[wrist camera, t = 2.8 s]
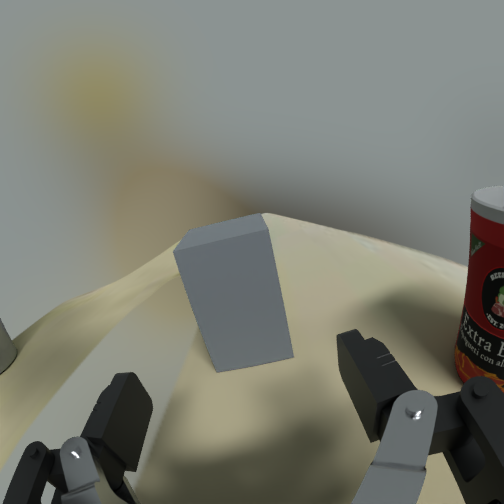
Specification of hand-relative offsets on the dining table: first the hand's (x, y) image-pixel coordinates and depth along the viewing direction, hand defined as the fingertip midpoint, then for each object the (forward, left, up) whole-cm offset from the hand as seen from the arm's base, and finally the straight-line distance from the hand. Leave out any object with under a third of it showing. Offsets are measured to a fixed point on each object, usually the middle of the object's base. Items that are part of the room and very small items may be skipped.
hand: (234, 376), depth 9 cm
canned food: (+15, -5, -7) cm, 18 cm away
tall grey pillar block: (+3, +11, -7) cm, 13 cm away
